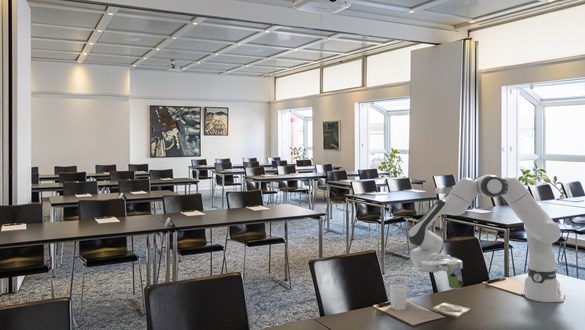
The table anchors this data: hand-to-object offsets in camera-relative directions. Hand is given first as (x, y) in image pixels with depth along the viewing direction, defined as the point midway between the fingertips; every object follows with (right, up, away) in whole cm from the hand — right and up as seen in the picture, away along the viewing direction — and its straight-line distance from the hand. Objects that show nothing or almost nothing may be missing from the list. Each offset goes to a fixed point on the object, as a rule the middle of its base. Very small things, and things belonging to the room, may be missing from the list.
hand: (451, 269), depth 215 cm
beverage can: (+2, -9, +2) cm, 10 cm away
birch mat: (0, -19, +1) cm, 19 cm away
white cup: (-23, -19, +5) cm, 30 cm away
